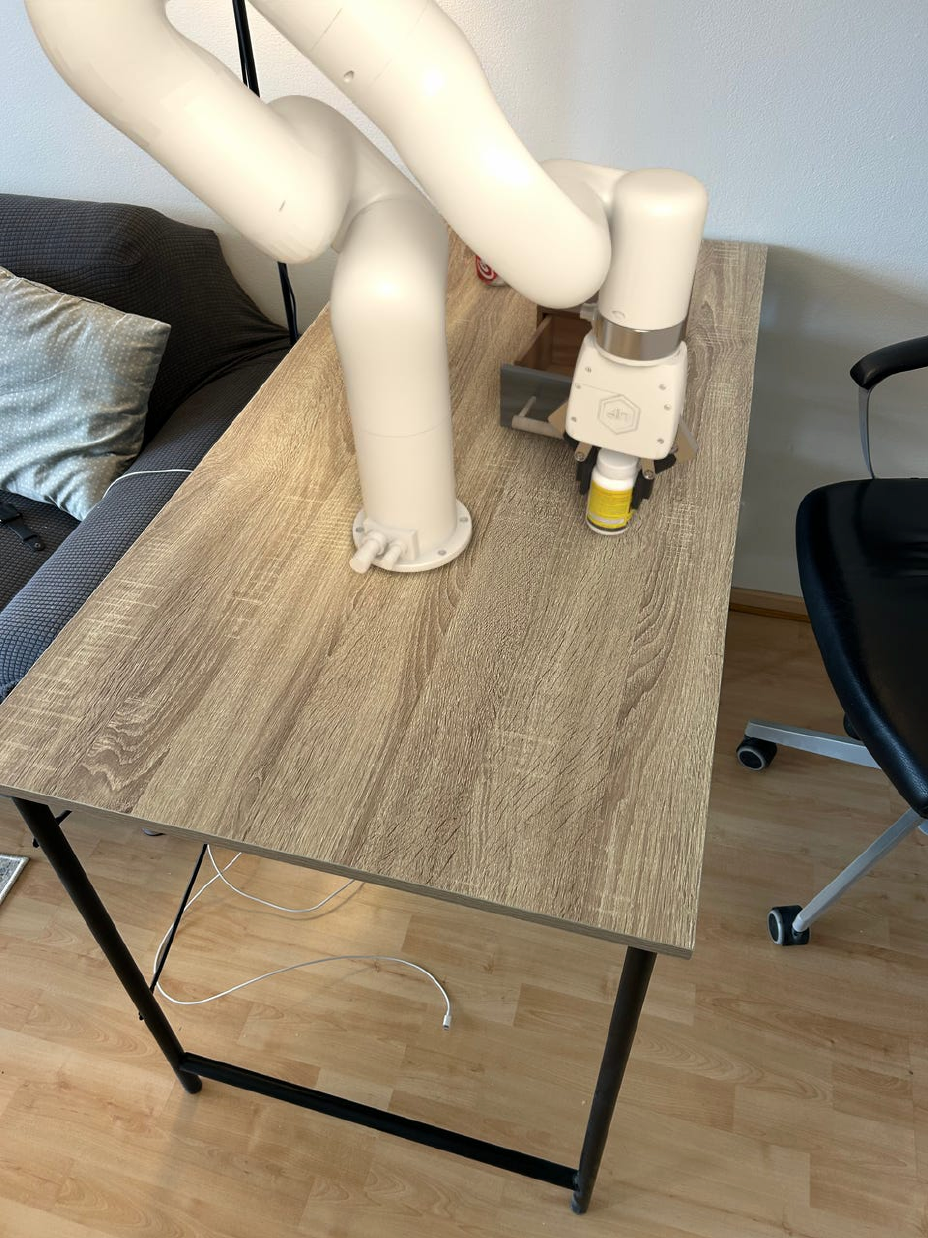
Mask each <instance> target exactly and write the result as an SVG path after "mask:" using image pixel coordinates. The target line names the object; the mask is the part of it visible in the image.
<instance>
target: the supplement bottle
mask: <svg viewBox="0 0 928 1238" xmlns="http://www.w3.org/2000/svg"><path fill="white" fill-rule="evenodd" d="M639 461H640V457H637V456H633V455H629V454H625V453H621V452H617V451H613V450H609V449H605V448H601V449H599V453H598V458H597V464H596V465H595V466H594V468H593V470H592V473H591V480H590V488H589V490H588V495H587V496H588V497H587V502H586V503H587V504H586V510H585V522H586V524H587V526H588V527H589V529H591V530H592V531H594V532H595V533H597V534H600V535H605V536H616V535H620V534H623V533H624V532H626V531H627V530H628V529H629V528H630V527H631V524H632V520H633V515H634V510H635V509H633V507H631V504H632V499H633V493H634V487H635V482H636V478H637V475H638V473H639V471H638V469H639Z"/></svg>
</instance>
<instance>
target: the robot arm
mask: <svg viewBox="0 0 928 1238" xmlns="http://www.w3.org/2000/svg"><path fill="white" fill-rule="evenodd" d="M170 1H171V0H23V3H24V7H25V10H26V14H27V17H28V20H29V22H30V26H31V28H32V30H33V34H34V36H35V37H36V39H37V42H38V43H39V45H40V47H41V49H42V51H43V53H44V55H45V57H46V58H47V59H48V61H49V62H50V64H51V65H52V67H53V68H54V70H55V72H56V73H57V74H58V75H59V76H60V78H61V79H62V80H63V82H64V83H65V84H66V85H67V86H68V87H69V88H70V89H71V90H72V91H73V93H75V95H76V96H77V97H78V98H80V100H82V101H83V102H84V103H85V104H86V105H87V106H88V107H89V108H91V110H93V111H94V112H95V113H96V114H97V115H99V116H100V117H101V118H102V119H104V120H105V121H106V122H108V123H109V124H110V125H111V126H113V128H115V129H116V130H117V131H119V132H120V133H121V134H122V135H124V136H125V137H126V138H128V139H129V140H130V141H131V142H132V143H134V144H135V145H136V146H138V148H140V149H141V150H143V151H144V152H145V153H147V154H148V155H149V157H151V158H152V159H153V160H154V161H155V162H156V163H158V164H159V165H160V166H161V167H163V169H165V170H166V171H167V172H168V173H169V174H170V175H171V176H172V177H173V179H175V180H176V181H178V183H180V184H181V185H182V186H183V187H184V188H186V189H187V191H190V193H192V194H193V195H194V196H195V197H196V198H197V199H198V200H199V201H201V202H202V203H203V204H204V205H205V206H206V207H208V208H209V209H210V210H211V211H212V212H213V213H215V214H216V215H217V216H218V217H220V218H221V219H222V220H223V221H224V222H225V223H226V224H227V225H229V226H230V228H232V229H233V230H234V231H236V232H237V233H238V234H239V235H240V236H242V237H243V238H244V239H245V240H246V241H247V242H248V243H250V244H251V245H252V246H253V247H254V248H256V249H257V250H258V251H259V252H261V253H262V254H263V255H265V256H267V257H269V258H270V259H272V260H274V261H276V262H279V263H282V264H287V265H291V266H292V265H293V266H295V265H297V266H298V265H306V264H308V263H311V262H313V261H315V260H317V259H318V258H319V257H321V256H322V255H323V254H324V253H325V252H326V251H327V250H328V249H329V248H331V250H333V251H335V253H336V254H338V257H337V260H336V263H335V264H336V265H335V268H334V272H333V276H332V280H331V281H332V282H331V285H330V291H329V292H330V293H329V322H330V328H331V332H332V333H331V334H332V337H333V341H334V344H335V348H336V352H337V355H338V359H339V362H340V367H341V371H342V376H343V382H344V387H345V393H346V401H347V408H348V414H349V418H350V423H351V430H352V437H353V444H354V449H355V457H356V464H357V470H358V471H357V472H358V478H359V484H360V491H361V497H362V505H363V506H362V507H361V508H360V510H359V511H358V512H357V514H356V515H355V518H354V520H353V523H352V527H351V530H352V539H353V543H354V547H355V548H356V551H355V553H354V554H353V555H352V557H351V558H350V559H349V562H348V563H349V566H350V568H351V569H352V570H353V571H354V572H355V573H358V574H365V573H366V572H367V571H368V569H369V568H370V567H371V565H374V566H376V567H378V568H381V569H384V570H386V571H391V572H399V573H418V572H419V573H420V572H424V571H430V570H433V569H437V568H440V567H442V566H444V565H446V564H448V563H450V562H452V561H453V560H455V559H456V558H458V557H459V556H460V555H461V554H462V553H463V551H465V549H466V548H467V546H468V545H469V544H470V541H471V538H472V534H473V533H472V531H473V523H472V522H473V521H472V516H471V514H470V511H469V509H468V508H467V507H466V505H465V504H464V503H463V502H461V500H459V499H458V498H457V493H456V491H457V490H456V475H455V474H456V472H455V453H454V433H453V432H454V431H453V414H452V413H453V411H452V401H451V400H452V398H451V381H450V368H449V367H450V366H449V353H448V352H449V351H448V342H447V300H448V299H447V297H448V296H447V295H448V285H449V284H448V283H449V270H450V269H449V268H450V255H451V254H450V252H451V248H450V247H451V245H450V237H449V232H448V229H447V226H446V224H445V223H446V222H447V224H448V225H449V226H450V228H451V229H452V230H453V231H454V233H455V234H456V235H457V236H458V237H459V238H460V239H461V240H462V241H463V242H464V243H465V245H466V246H467V247H468V248H470V250H471V251H472V252H473V253H474V254H475V253H476V254H477V255H478V256H479V257H480V258H481V259H482V260H483V261H484V262H485V263H486V264H487V265H488V266H489V267H490V268H491V269H493V270H494V271H495V272H496V273H497V274H498V275H499V276H500V277H501V278H502V279H503V280H504V281H505V282H507V283H508V284H509V285H508V286H510V288H512V289H513V290H514V291H515V292H517V293H518V294H520V295H521V296H522V297H523V298H525V299H527V300H529V301H531V302H532V303H535V304H536V305H538V304H539V305H541V306H544V307H548V308H555V309H563V308H570V307H574V306H577V305H579V304H581V303H583V302H585V301H587V300H588V299H589V298H591V297H592V296H593V295H594V294H595V293H596V292H597V291H598V290H599V297H598V301H597V303H596V304H595V303H592V304H587V303H583V305H582V307H581V311H580V319H585V320H587V321H588V322H591V325H592V327H593V329H592V330H591V331H590V332H589V333H588V334H587V335H586V336H585V338H584V340H583V343H582V346H581V349H580V352H579V356H578V359H577V363H576V367H575V372H574V376H573V381H572V386H571V391H570V396H569V397H568V398H567V399H566V400H565V401H563V402H562V403H561V404H560V405H559V406H557V407H556V408H555V409H554V410H553V411H552V413H551V414H550V416H549V417H548V421H549V422H550V423H551V424H552V425H553V426H554V427H555V428H556V429H557V430H558V431H559V432H560V433H562V434H563V438H564V439H565V441H564V442H566V444H567V445H568V446H569V447H570V448H571V449H572V451H573V452H574V455H573V456H574V459H575V460H576V461H577V466H576V473H575V481H576V482H579V488H578V495H580V496H585V495H587V494H588V493H589V488H590V480H591V473H592V470H593V468H594V466H595V465H596V464H597V458H598V453H599V451H600V449H597V448H598V447H602V448H605V449H609V450H613V451H617V452H621V453H625V454H629V455H633V456H637V457H639V458H640V464H641V467H640V469H639V471H638V475H637V478H636V482H635V487H634V493H633V499H632V504H631V507H633V509H634V510H635V511H638V510H639V508H640V507H641V504H642V503H643V501H644V500H647V501H650V498H651V496H652V493H653V490H654V485H655V480H656V475H658V474H660V473H662V472H665V471H667V470H669V469H671V468H672V467H674V466H675V465H677V464H683V463H686V462H688V461H691V460H693V459H695V458H696V456H697V454H698V453H699V450H700V446H699V444H698V443H697V441H696V439H695V437H694V435H693V434H692V432H691V430H690V428H689V426H688V425H687V423H686V421H685V419H684V417H683V416H684V415H683V414H684V409H685V408H684V407H685V401H686V400H685V399H686V393H687V382H688V381H687V379H688V363H689V362H688V346H687V344H686V342H685V341H682V336H683V331H684V326H685V321H686V316H687V311H688V306H689V301H690V296H691V291H692V285H693V280H694V275H695V276H696V273H695V270H696V271H697V265H698V260H699V256H700V250H701V245H702V240H703V236H704V230H705V225H706V222H707V221H706V220H707V216H708V209H709V194H708V191H707V189H706V186H705V184H703V182H702V181H701V180H700V179H699V178H697V177H696V176H694V175H693V174H690V173H688V172H685V171H682V170H679V169H675V168H667V167H647V168H646V167H645V168H639V169H636V170H628V169H621V168H616V167H611V166H605V165H602V164H596V163H592V162H587V161H584V160H583V161H582V160H578V159H571V158H560V157H559V158H550V159H545V160H543V161H539V162H538V161H537V159H536V158H534V156H533V155H532V154H531V152H530V151H529V150H528V148H527V147H526V146H525V145H524V143H523V142H522V140H521V139H520V137H519V136H518V134H517V133H516V132H515V130H514V129H513V127H512V126H511V124H510V122H509V120H508V119H507V117H506V116H505V114H504V112H503V110H502V108H501V106H500V104H499V103H498V100H497V97H496V96H495V93H494V92H493V89H492V87H491V84H490V82H489V80H488V77H487V74H486V72H485V70H484V68H483V65H482V62H481V60H480V57H479V56H478V54H477V53H476V50H475V48H474V47H473V46H472V43H471V42H470V41H469V39H468V37H467V36H466V34H465V32H464V31H463V30H462V29H461V27H460V26H459V25H458V24H457V23H456V22H455V20H453V19H452V17H451V16H449V15H448V13H447V12H446V11H445V10H444V9H443V8H442V7H441V6H440V5H439V4H438V3H437V2H436V0H247V2H248V3H249V4H250V5H251V6H252V7H253V8H254V9H255V10H256V11H257V12H258V13H259V14H260V16H262V17H263V19H265V21H267V22H268V23H269V24H270V25H271V26H272V27H273V28H274V29H275V30H276V31H277V32H278V33H279V34H280V35H281V36H283V38H284V39H286V40H287V42H289V44H291V45H292V46H293V47H294V49H296V50H297V51H298V52H299V54H300V55H302V56H303V57H304V58H306V59H307V60H308V61H309V62H310V63H311V64H312V65H313V66H314V67H315V68H316V69H317V70H318V71H319V72H320V73H321V74H322V75H323V76H325V78H327V79H328V81H330V82H331V83H332V85H334V87H336V88H337V89H338V90H339V91H340V92H341V93H342V94H343V95H344V96H345V97H346V98H347V99H348V100H349V101H350V102H351V103H352V104H353V105H354V106H355V107H356V108H357V109H358V110H359V111H360V112H361V113H362V114H363V115H364V116H365V117H367V118H368V120H369V121H371V122H372V123H373V125H375V126H376V127H377V129H378V130H379V131H380V132H381V133H382V134H383V135H384V136H385V137H386V139H387V140H389V142H390V143H391V145H392V147H393V149H394V150H395V152H396V153H397V155H398V156H399V158H400V159H401V161H402V162H403V164H404V166H405V167H406V169H407V170H408V171H409V173H410V174H411V175H412V177H413V178H414V179H415V180H416V182H417V183H418V184H419V186H420V187H421V189H422V190H423V191H424V192H422V190H420V189H419V188H418V187H417V186H416V185H415V183H414V182H412V180H410V179H409V178H408V176H406V175H405V174H404V173H403V172H402V170H400V169H399V168H398V167H397V166H396V164H394V163H393V162H392V160H390V159H389V158H388V157H387V156H386V155H385V154H384V153H383V152H382V151H381V150H380V149H379V148H378V147H377V145H375V144H374V143H373V141H371V140H370V139H369V138H368V137H367V136H366V135H365V134H364V133H363V132H362V131H361V129H359V128H358V127H357V126H356V125H355V123H353V122H352V120H350V119H349V118H348V117H347V116H345V115H344V114H343V113H341V112H340V111H339V110H338V109H337V108H334V106H331V105H330V104H328V103H326V102H325V101H322V100H320V99H318V98H314V97H312V96H307V95H301V94H289V95H284V96H280V97H277V98H275V99H272V100H271V101H269V102H267V103H266V102H265V101H264V100H263V99H262V98H260V97H259V96H258V95H257V94H256V93H255V92H254V91H253V90H252V89H251V88H249V87H248V86H247V85H246V84H245V83H244V82H243V81H242V80H241V79H240V77H238V76H237V74H235V72H233V71H232V70H231V69H230V67H229V66H227V65H226V64H225V63H224V62H223V61H222V60H220V59H219V58H218V57H217V56H215V55H214V54H213V53H211V52H210V51H209V50H207V49H206V48H204V47H202V46H201V45H199V44H198V43H196V42H195V41H193V40H192V39H190V38H188V37H187V36H185V35H184V34H182V32H181V31H179V30H178V29H177V28H176V27H175V26H174V25H173V23H172V22H171V21H170V20H169V18H168V15H167V3H169V2H170ZM424 193H425V194H426V195H427V196H426V195H425V194H424ZM442 217H443V218H442ZM444 220H445V221H446V222H445V221H444ZM694 281H695V280H694ZM573 418H574V419H573ZM674 442H675V444H676V446H675V447H673V445H674ZM597 446H598V447H597Z"/></svg>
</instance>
